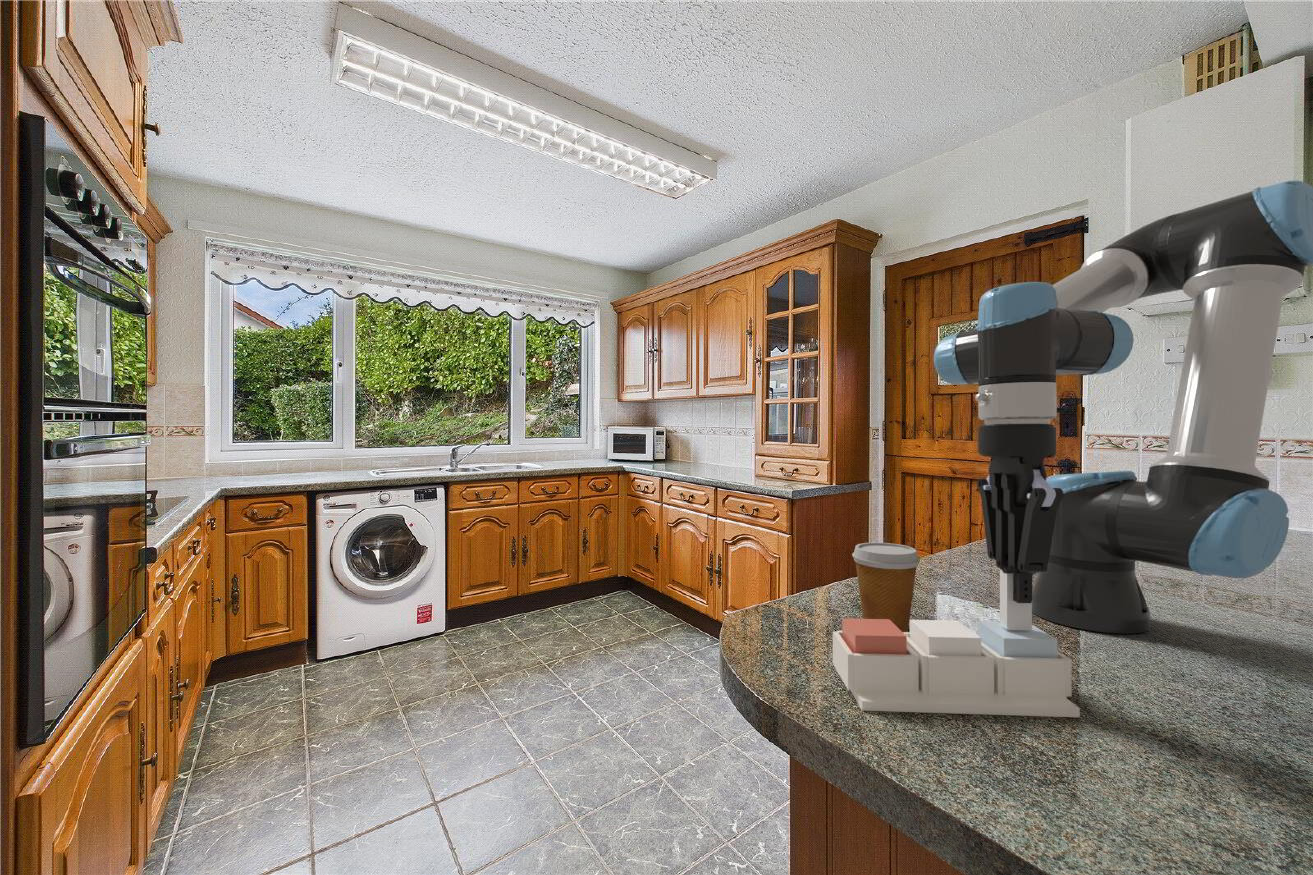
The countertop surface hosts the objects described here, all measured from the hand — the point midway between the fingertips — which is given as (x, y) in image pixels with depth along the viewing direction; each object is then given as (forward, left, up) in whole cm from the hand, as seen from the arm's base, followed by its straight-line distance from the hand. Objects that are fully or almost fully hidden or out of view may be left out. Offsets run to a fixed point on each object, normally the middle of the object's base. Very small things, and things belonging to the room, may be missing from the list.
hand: (1015, 627), depth 63 cm
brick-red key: (+16, 0, -4) cm, 16 cm away
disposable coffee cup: (+8, -20, -7) cm, 23 cm away
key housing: (+8, 0, -7) cm, 11 cm away
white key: (+8, 0, -4) cm, 9 cm away
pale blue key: (0, 0, -4) cm, 4 cm away
